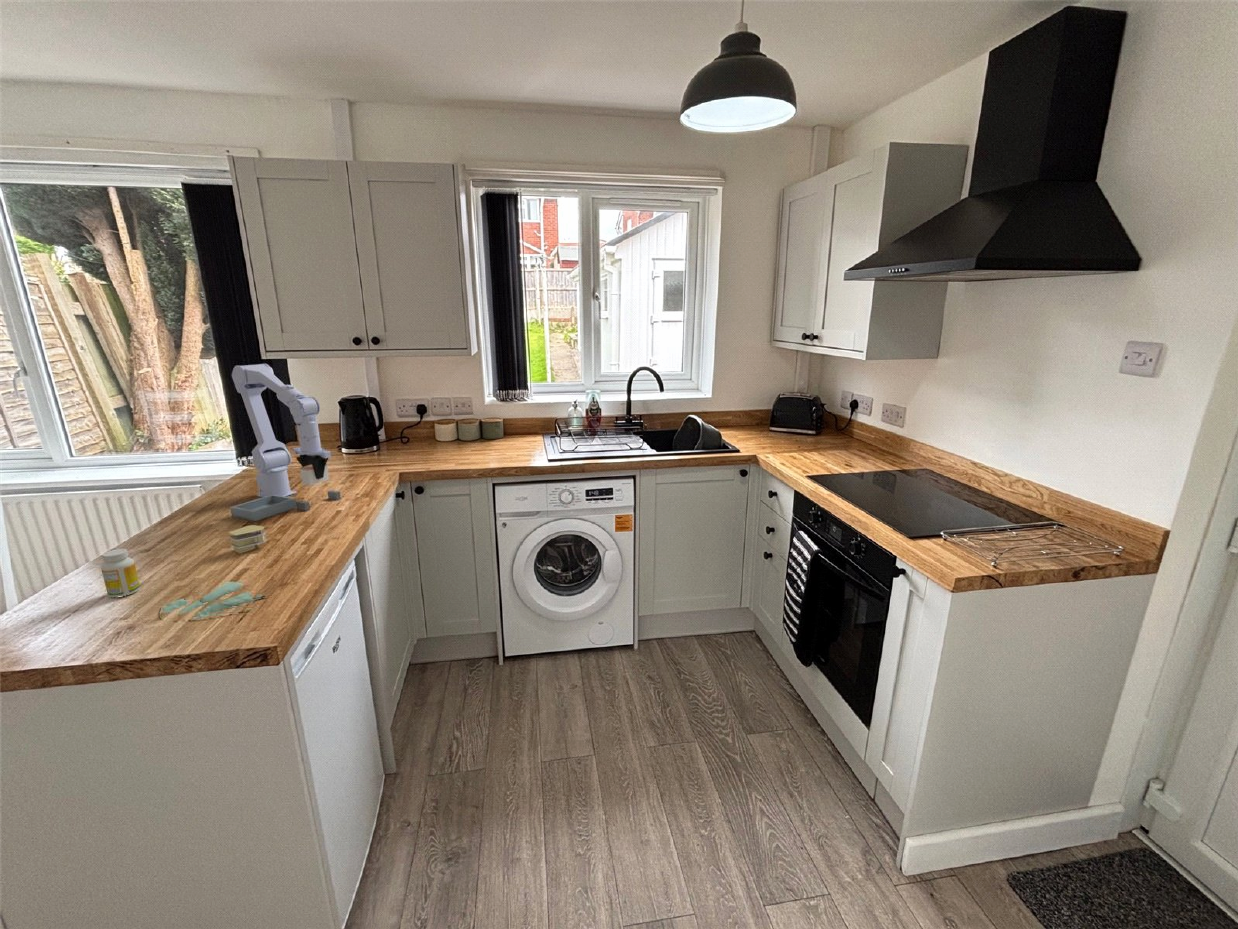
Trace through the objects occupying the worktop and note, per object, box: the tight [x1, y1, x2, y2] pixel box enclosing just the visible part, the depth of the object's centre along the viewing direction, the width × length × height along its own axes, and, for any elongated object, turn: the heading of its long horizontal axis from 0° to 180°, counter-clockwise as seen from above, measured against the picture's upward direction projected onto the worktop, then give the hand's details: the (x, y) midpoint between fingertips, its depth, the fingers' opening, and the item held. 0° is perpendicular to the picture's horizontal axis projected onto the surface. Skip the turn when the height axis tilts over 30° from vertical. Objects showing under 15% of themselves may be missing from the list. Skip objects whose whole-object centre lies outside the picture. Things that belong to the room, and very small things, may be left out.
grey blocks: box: [296, 489, 342, 512], centre depth 176 cm, size 4×13×2 cm, turn 157°
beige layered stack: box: [228, 525, 268, 555], centre depth 142 cm, size 10×9×6 cm
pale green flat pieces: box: [161, 581, 266, 619], centre depth 116 cm, size 20×22×2 cm
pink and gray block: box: [299, 463, 330, 486], centre depth 174 cm, size 4×7×6 cm, turn 157°
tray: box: [229, 495, 297, 522], centre depth 169 cm, size 11×14×3 cm
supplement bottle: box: [100, 548, 141, 598], centre depth 118 cm, size 5×5×10 cm
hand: (315, 477), depth 175 cm, fingers closed on pink and gray block, 3 cm apart
